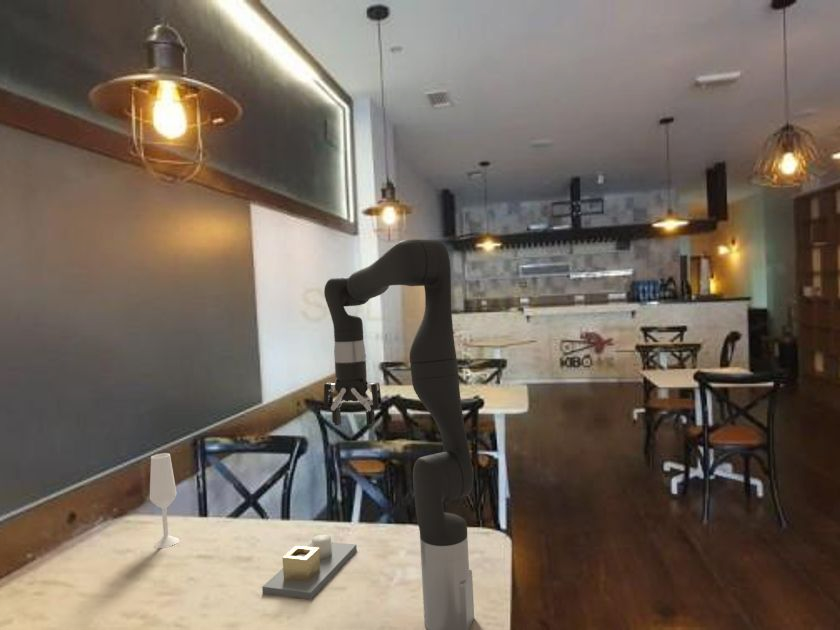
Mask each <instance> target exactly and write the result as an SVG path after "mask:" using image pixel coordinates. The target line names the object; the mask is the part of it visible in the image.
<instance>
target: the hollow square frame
mask: <svg viewBox="0 0 840 630" xmlns="http://www.w3.org/2000/svg"><path fill="white" fill-rule="evenodd" d="M300 554H305V555H306V556H305V557H298V556H297V555H300ZM282 569H283V574H284V579H287V580H296V581H304V582H308V581H309V580H310V579H311V578H312V577H313V576H314V575H315V574H316V573H317V572H318V571H319V570H320V560H319V548H313V547H307V546H302V545H295V546H294V547H293V548H291V549H290V551H288V552H287V553H286V554H285V555H283V557H282Z"/></svg>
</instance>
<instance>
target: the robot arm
mask: <svg viewBox="0 0 840 630" xmlns="http://www.w3.org/2000/svg"><path fill="white" fill-rule="evenodd" d="M451 272H452V269H451V259H450V255H449V251H448V249H447V246H446V245H445V244H444V243H443V241H441V240H439V239H430V238H429V239H426V238H424V239H423V238H420V239H419V238H418V239H417V238H408V239H403V240H400V241H398V242H397V243H395V244H394V245H393V246H391V247H390V248H389V249H388V250H387V251H385V253H383V254H382V255H381V256H380V257H379V258H377V259H376V260H375V261H373V262H372V263H371V264H369V265H366V266H365V267H362V268H360V269H358V270H356V271H355V272H353V273H352V274H351V275H349V276H348V277H345V276H344V277H331V278H330V279H328V280H327V281H326V283H325V286H324V290H323V291H324V292H323V293H324V298H325V302H326V305H327V308H328V311H329V313H330V318H331V321H332V324H333V333H334V334H333V336H334V337H333V338H334V347H333V348H334V350H333V355H334V357H333V358H334V371H335V372H334V374H335V381H336V382H335V383H333V382H327V383H325V384H324V385H323V386H324V387H323V406H324V408H325V409H330V410H331V416H332V418H331V419H332V424H334V426H337V427H338V426H341V424H342V418H341V417H342V415H341V408H340V407H341V406H342V404H343V403H344V402H350V401H351V402H359V403H360V404H361V405H363V407H364V408H365V410H366V412H365V418H366V421H365V422H366V427H371V426H373V424H375V421H376V419H375V410H376V409H378V408H380V407H382V404H383V403H382V395H381V385H380V382H374V383H368V381H367V359H366V358H367V354H366V346H365V341H364V340H365V339H364V324H363V320H362V318H361V317H360V316H358V315H351V314H348V312H347V311H346V308H345V307H356V306H357V307H359V306H362V305H365V304H367V302H368V301H369V300H370V299H373V298H376V297H379V296H381V295H383V294H384V293H385V292H386V291H387V290H388V289H389V287H390V286H407V287H424V295H425V297H424V298H425V301H424V302H425V303H424V305H425V306H424V313H423V317H422V320H421V323H420V325H419V328H418V330H417V332H416V334H415V336H414V339H413V341H412V342H411V343H412V344H411V346H410V347H411V348H410V351H409V363H410V364H409V365H410V374H411V375H410V376H411V384H412V388H413V390H414V393H415V395H416V396H417V397H418V399H419V401H420V402H421V403H422V404H423V406H424V408H425V409H426V410H427V412H428V413H429V415H431V417H432V418H433V420H434V421H435V423H436V426H437V427H438V430H439V433H440V437H441V438H440V439H441V442H442V452H438V453H433V454H428V455H424V456H421V457H418V458H417V460H416V461H415V462H414V465H413V469H412V485H413V493H414V502H415V503H414V504H415V515H416V521H417V525H418V529H419V541H420V542H419V544H420V561H421V566H420V567H421V581H422V582H421V583H422V600H423V602H422V603H423V604H422V605H423V618H424V627H425V628H426V630H470V628H471V626H472V624H473V621H474V618H475V604H474V586H473V585H474V583H473V581H474V580H473V571H472V569H470V562H469V561H470V560H469V541H468V538H469V537H468V525H467V524H468V523H467V522H466V519H465V518H463V517H462V516H460V515H458V514H455V513H452V512H451V513H450V512H445V510H444V503H449V502H452V501H455V500H459V499H462V498H465V497H467V496H469V495H470V494H471V492H472V490H473V488H474V480H475V479H474V470H473V468H474V467H473V463H472V457H471V452H470V447H469V441H468V437H467V433H466V427H465V421H464V414H463V408H462V400H461V399H462V398H461V391H460V379H459V378H460V376H459V368H458V367H459V366H458V359H457V352H456V345H455V336H454V326H453V325H454V324H453V315H452V314H453V312H452V273H451ZM335 391H336V392H337V393H338V395H337V396H336V398H335V399H334V392H335ZM367 391H369V392H370V393H371V397H372V400H371V398H370V395H368V394H367Z"/></svg>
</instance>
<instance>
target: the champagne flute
mask: <svg viewBox="0 0 840 630" xmlns="http://www.w3.org/2000/svg"><path fill="white" fill-rule="evenodd" d="M149 474H150V481H149V500H150V502H152V504H153V505H155V506H156V507H158V508H160V509H161V517H162V529H163V531H162V532H163V536H161V537H160V538H159V539H158V540H156V541H155V542H154V543H153V545H152V546H153V548H155V547H156V548H155V549H163V548H164V549H165V548H170V547H172V545H173V546H174V544H175V545H177V544H178V543H179V542H180V540H179V539H180V538H178V537H175V536H172V535H170V534H169V525H168V523H169V521H168V511H167V510H168V509H167V508H168V507H169V506H170V505H171V504H172V503H173V502H174V500H175V499H176V497H177V494H178V492H177V488H176V482H175V477H174V476H175V475H174V469H173V464H172V457H171V454H170V453H165V452H163V453H156V454H154V455H152V456H150V473H149ZM176 543H177V544H176ZM169 546H170V547H169Z"/></svg>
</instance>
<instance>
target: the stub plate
mask: <svg viewBox="0 0 840 630" xmlns="http://www.w3.org/2000/svg"><path fill="white" fill-rule="evenodd" d="M306 547H313V548H319V560H320V570H319V571H318V572H317V573H316V574H315V575H314V576H313V577H312V578H311V579H310V580H309V581H308V582H304V581H296V580H287V579H284V574H283V568H281V569H280V570H279V571H278V572H277V573H275V575H273V576H272V577H271V578H270V579H269V580H268V581H267V582H266V583H265V584H263V585H262V587H261V588H262V594H266V595H273V596H282V597H289V598H297V599H306V600H312V599H313V598H314V597H315V596H316V594H317V593H319V592H320V590H321V589H322V588H323V587H324V586H325V585H326V584H327V583H328V582H329V581H330V580H331V579H332V578H333V577H334V575H335V574H336V573H337V572H338V571H339V570H340V569H341V568H342V567H343V566H344V565H345V564H346V562H347V561H348V560H349V559H350V558H351V557H352V556H353V555H354V554H355V553H356V552H357V550H358V549H357V544H355V543H345V542H343V543H342V542H334V541H333V542H332V536H331V535H329V534H319V535H315V536H314V537H312V539H311V543H309V545H308V546H306ZM297 556H298V557H305V556H306V555H305V554H300V555H297Z"/></svg>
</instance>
